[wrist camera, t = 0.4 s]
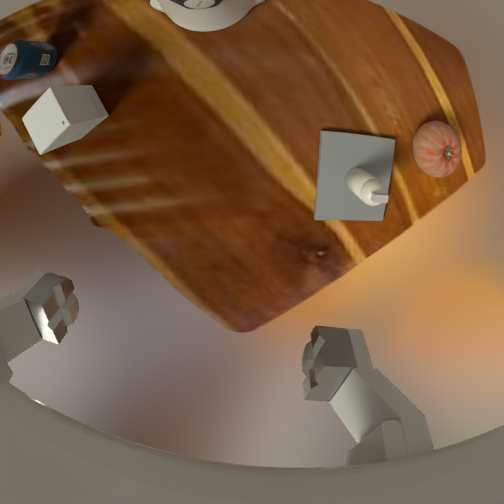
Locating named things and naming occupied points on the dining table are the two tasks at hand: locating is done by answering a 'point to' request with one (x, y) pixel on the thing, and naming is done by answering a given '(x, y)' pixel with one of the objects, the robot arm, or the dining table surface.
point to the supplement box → (63, 116)
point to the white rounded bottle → (366, 186)
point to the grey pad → (336, 167)
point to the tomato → (436, 149)
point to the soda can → (26, 59)
